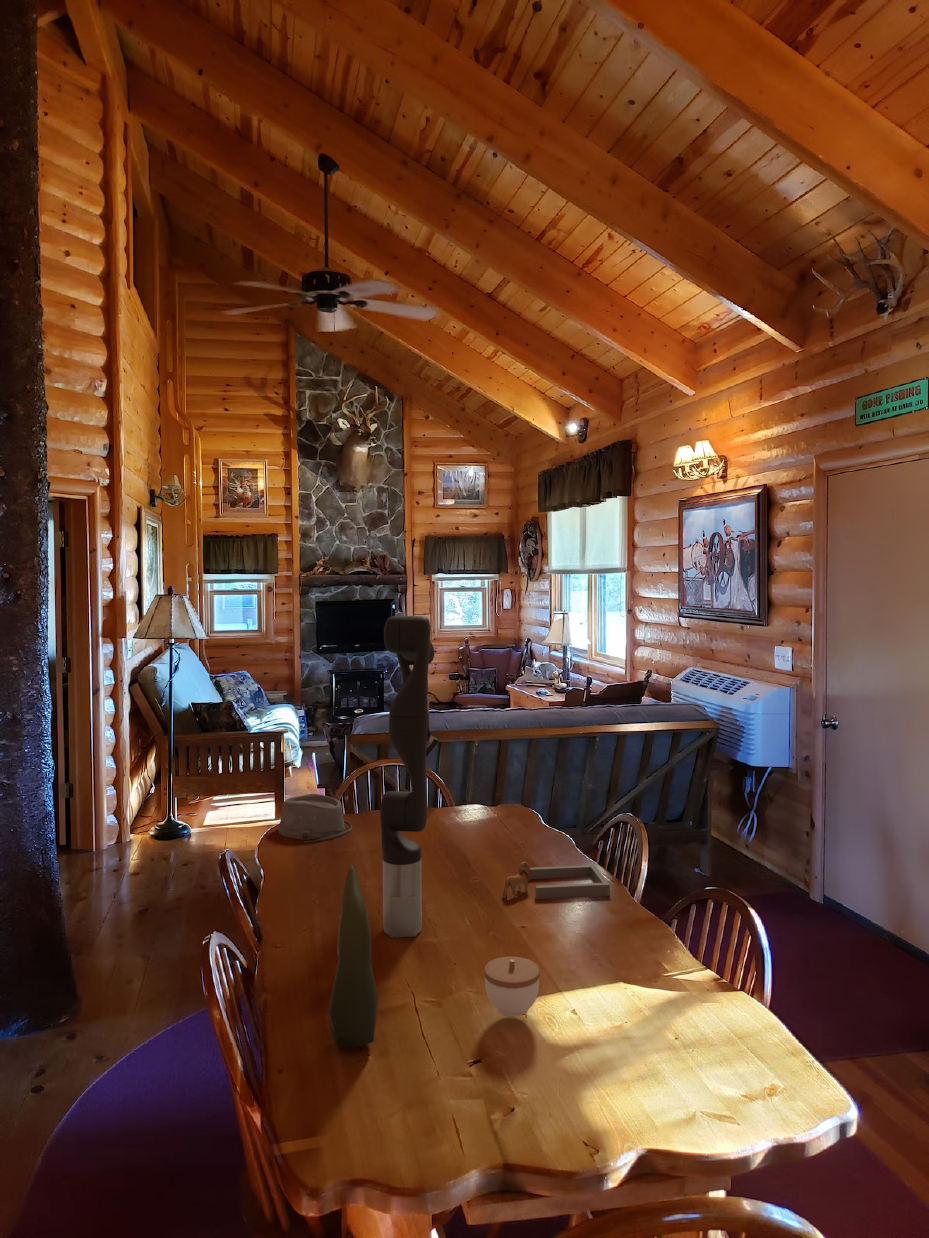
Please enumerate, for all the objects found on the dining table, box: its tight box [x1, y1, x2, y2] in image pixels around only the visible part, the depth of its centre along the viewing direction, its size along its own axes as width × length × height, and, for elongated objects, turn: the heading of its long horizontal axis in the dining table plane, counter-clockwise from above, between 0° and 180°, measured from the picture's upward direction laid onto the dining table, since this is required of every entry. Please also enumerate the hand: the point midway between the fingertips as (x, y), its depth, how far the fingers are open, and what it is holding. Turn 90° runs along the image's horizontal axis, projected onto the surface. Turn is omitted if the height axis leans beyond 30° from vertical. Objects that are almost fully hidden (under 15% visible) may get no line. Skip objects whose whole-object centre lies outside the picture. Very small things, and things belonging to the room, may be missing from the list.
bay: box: [530, 864, 611, 900], centre depth 217 cm, size 15×20×3 cm
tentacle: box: [327, 864, 379, 1048], centre depth 145 cm, size 9×12×30 cm
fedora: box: [277, 793, 353, 843], centre depth 264 cm, size 24×27×12 cm
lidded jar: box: [483, 956, 541, 1018], centre depth 155 cm, size 11×11×9 cm
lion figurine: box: [502, 861, 531, 901], centre depth 213 cm, size 12×4×7 cm, turn 148°
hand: (416, 771), depth 227 cm, fingers closed
